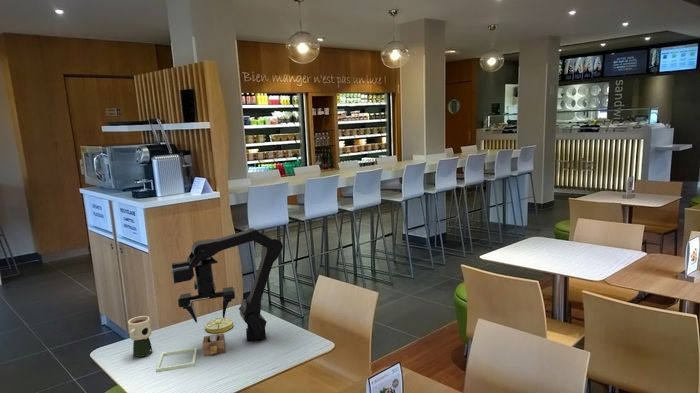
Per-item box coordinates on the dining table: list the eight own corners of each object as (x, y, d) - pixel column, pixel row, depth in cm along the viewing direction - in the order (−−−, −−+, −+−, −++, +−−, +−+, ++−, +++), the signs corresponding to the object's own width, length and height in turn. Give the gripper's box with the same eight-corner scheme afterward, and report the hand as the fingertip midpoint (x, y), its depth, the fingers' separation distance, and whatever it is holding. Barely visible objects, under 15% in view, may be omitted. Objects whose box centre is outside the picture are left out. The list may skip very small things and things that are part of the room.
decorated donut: (220, 323, 193) (219, 314, 192) (239, 327, 187) (238, 318, 187) (199, 332, 184) (198, 323, 183) (219, 338, 178) (218, 328, 178)
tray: (197, 351, 168) (197, 347, 167) (194, 368, 156) (194, 363, 156) (161, 357, 165) (161, 352, 165) (156, 374, 153) (155, 369, 153)
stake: (226, 345, 172) (225, 330, 171) (226, 355, 164) (224, 339, 163) (203, 348, 170) (202, 333, 169) (202, 358, 162) (200, 342, 161)
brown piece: (225, 343, 171) (224, 333, 170) (224, 354, 163) (223, 343, 162) (205, 346, 169) (203, 336, 169) (203, 357, 161) (202, 346, 161)
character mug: (144, 361, 162) (140, 326, 161) (125, 361, 163) (120, 326, 161) (160, 347, 173) (156, 313, 171) (141, 347, 174) (137, 313, 172)
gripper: (232, 266, 173) (236, 307, 175) (178, 274, 169) (184, 315, 171) (232, 275, 162) (237, 318, 165) (175, 284, 158) (181, 328, 160)
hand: (210, 319), depth 165 cm, fingers open, 9 cm apart
